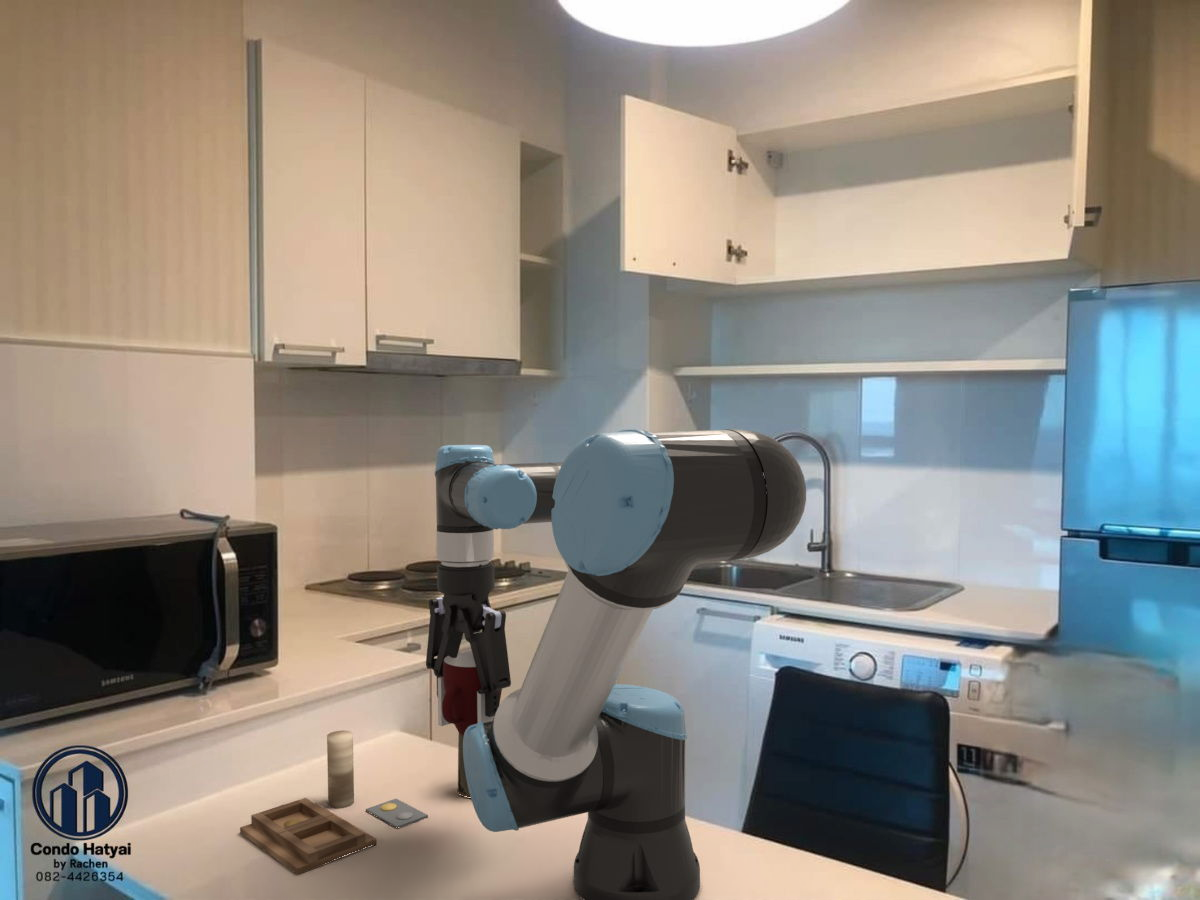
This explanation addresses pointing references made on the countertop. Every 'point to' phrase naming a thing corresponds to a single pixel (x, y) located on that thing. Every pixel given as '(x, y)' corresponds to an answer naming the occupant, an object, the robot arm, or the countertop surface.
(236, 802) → the countertop surface
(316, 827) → the board
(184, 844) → the countertop surface
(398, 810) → the key tile
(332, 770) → the peg
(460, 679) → the mug
